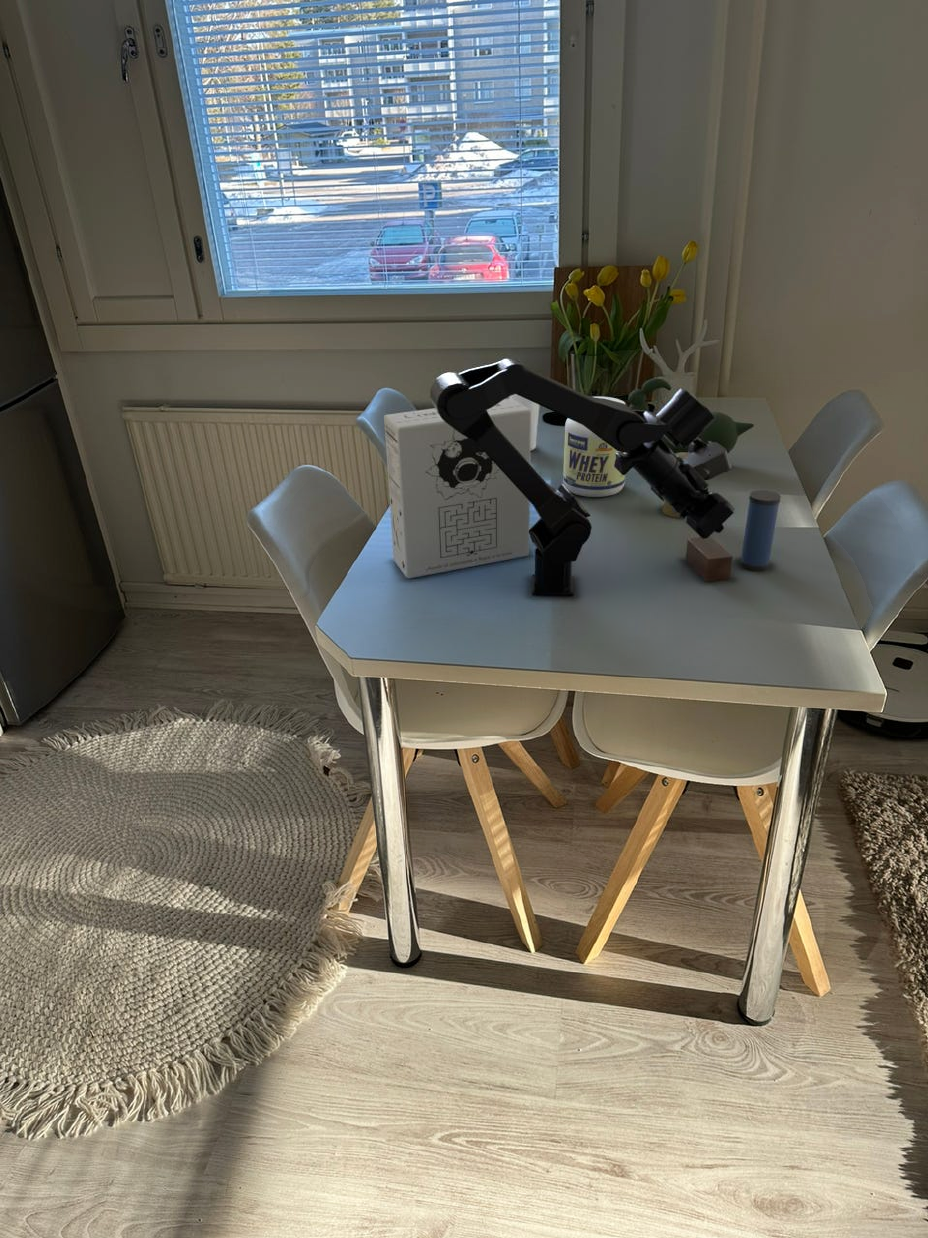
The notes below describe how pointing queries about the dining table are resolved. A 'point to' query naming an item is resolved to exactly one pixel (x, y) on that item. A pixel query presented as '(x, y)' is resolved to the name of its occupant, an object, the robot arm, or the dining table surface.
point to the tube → (759, 529)
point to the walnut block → (708, 559)
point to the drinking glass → (534, 416)
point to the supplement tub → (590, 462)
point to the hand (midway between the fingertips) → (720, 529)
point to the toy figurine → (717, 431)
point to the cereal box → (454, 493)
